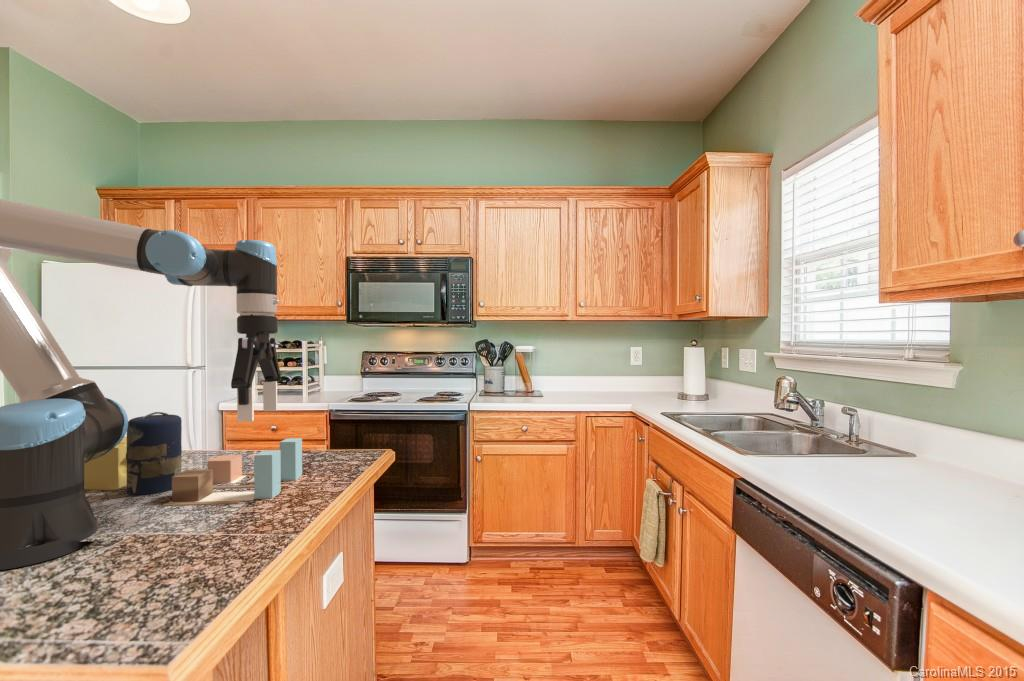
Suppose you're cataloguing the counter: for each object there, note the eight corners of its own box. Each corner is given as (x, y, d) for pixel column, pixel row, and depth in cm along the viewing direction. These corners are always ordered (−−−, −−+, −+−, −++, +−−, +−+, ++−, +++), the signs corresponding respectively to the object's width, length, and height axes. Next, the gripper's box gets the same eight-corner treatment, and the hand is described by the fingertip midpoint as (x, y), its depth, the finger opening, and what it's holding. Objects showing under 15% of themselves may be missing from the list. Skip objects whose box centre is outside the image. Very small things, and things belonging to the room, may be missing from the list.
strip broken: (294, 486, 104) (294, 442, 104) (204, 489, 103) (204, 444, 103) (303, 479, 110) (303, 437, 110) (218, 481, 108) (218, 439, 108)
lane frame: (237, 510, 90) (237, 502, 90) (162, 513, 89) (162, 504, 89) (282, 478, 111) (282, 471, 111) (222, 480, 110) (222, 473, 110)
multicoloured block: (270, 505, 92) (270, 455, 92) (168, 508, 91) (168, 458, 91) (282, 496, 98) (281, 449, 98) (186, 499, 96) (185, 451, 96)
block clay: (230, 482, 103) (230, 460, 103) (207, 483, 103) (207, 461, 103) (241, 476, 108) (241, 454, 108) (219, 476, 108) (219, 455, 108)
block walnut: (198, 501, 91) (198, 476, 91) (172, 502, 91) (171, 477, 91) (212, 492, 96) (212, 469, 96) (187, 493, 96) (187, 469, 96)
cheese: (159, 477, 113) (158, 436, 113) (117, 492, 102) (116, 447, 102) (120, 476, 114) (120, 436, 114) (74, 490, 103) (74, 446, 103)
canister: (117, 497, 98) (117, 413, 98) (167, 485, 106) (167, 407, 106) (140, 505, 93) (139, 416, 93) (190, 491, 102) (190, 410, 102)
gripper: (253, 311, 85) (255, 425, 85) (294, 317, 110) (295, 406, 110) (209, 311, 84) (210, 427, 84) (260, 318, 109) (262, 407, 109)
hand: (258, 415), depth 97 cm, fingers open, 13 cm apart
